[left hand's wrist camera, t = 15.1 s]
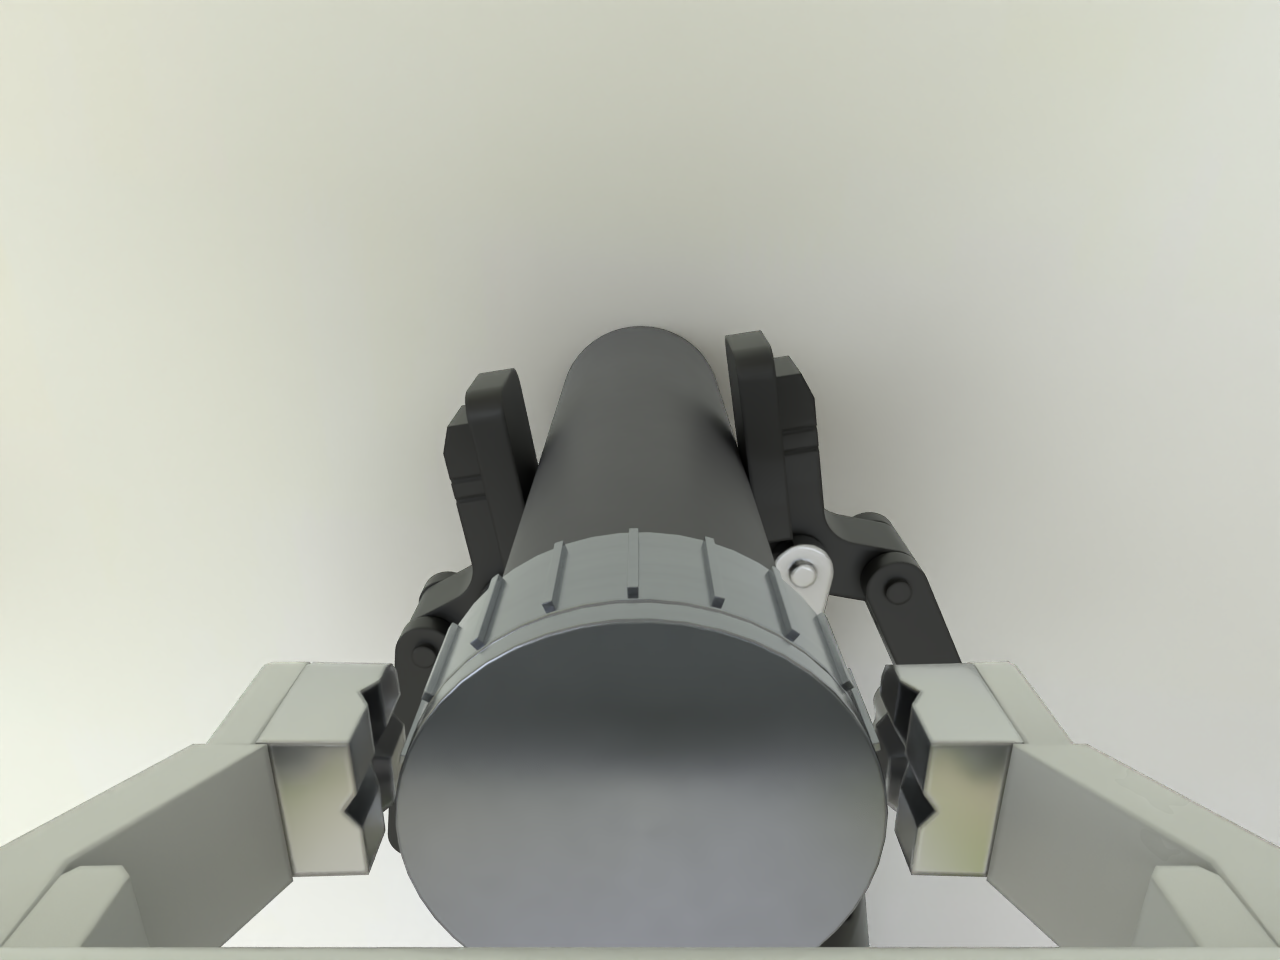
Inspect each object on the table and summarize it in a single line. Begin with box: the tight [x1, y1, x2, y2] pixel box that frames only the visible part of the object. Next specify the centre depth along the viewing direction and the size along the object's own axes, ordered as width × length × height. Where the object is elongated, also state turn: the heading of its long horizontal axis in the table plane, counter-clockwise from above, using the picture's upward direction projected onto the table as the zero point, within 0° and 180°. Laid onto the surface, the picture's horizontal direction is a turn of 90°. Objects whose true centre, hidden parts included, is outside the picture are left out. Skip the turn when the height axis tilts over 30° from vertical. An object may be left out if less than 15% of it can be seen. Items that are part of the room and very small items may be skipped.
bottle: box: [503, 326, 776, 577], centre depth 16 cm, size 4×4×15 cm
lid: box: [395, 528, 888, 947], centre depth 10 cm, size 5×5×2 cm
